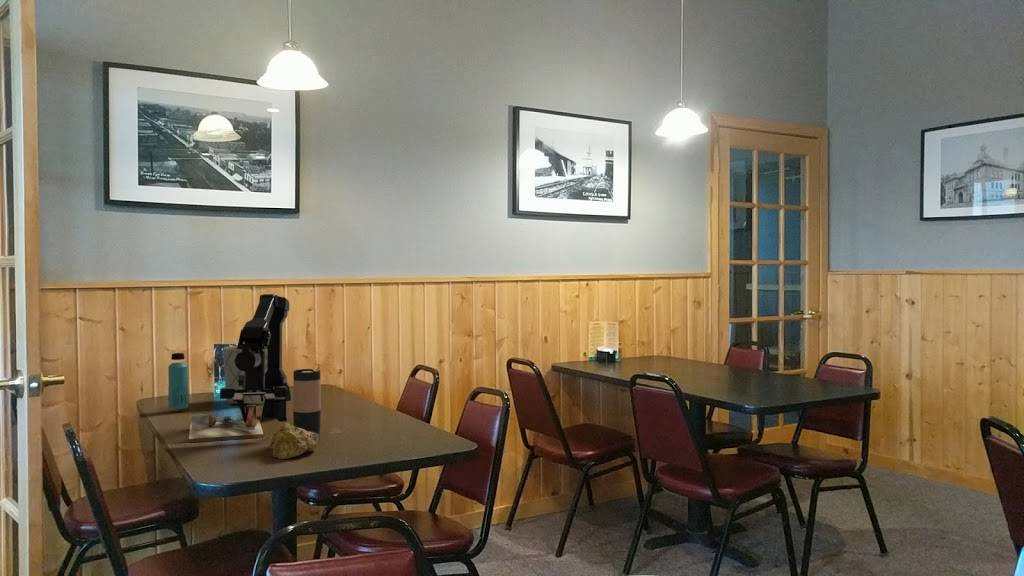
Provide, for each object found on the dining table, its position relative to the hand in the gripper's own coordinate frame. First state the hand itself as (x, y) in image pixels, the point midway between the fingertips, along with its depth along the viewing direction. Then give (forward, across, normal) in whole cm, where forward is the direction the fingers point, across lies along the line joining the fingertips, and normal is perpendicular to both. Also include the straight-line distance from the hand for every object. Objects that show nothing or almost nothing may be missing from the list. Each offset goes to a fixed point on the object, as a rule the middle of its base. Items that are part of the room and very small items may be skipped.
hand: (253, 422), depth 227 cm
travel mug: (+5, -14, +9) cm, 18 cm away
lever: (+2, +5, -8) cm, 10 cm away
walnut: (+3, +12, -14) cm, 18 cm away
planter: (+2, -2, -62) cm, 62 cm away
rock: (+5, -10, +26) cm, 28 cm away
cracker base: (+4, +7, -9) cm, 12 cm away
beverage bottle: (+3, +22, -50) cm, 54 cm away
